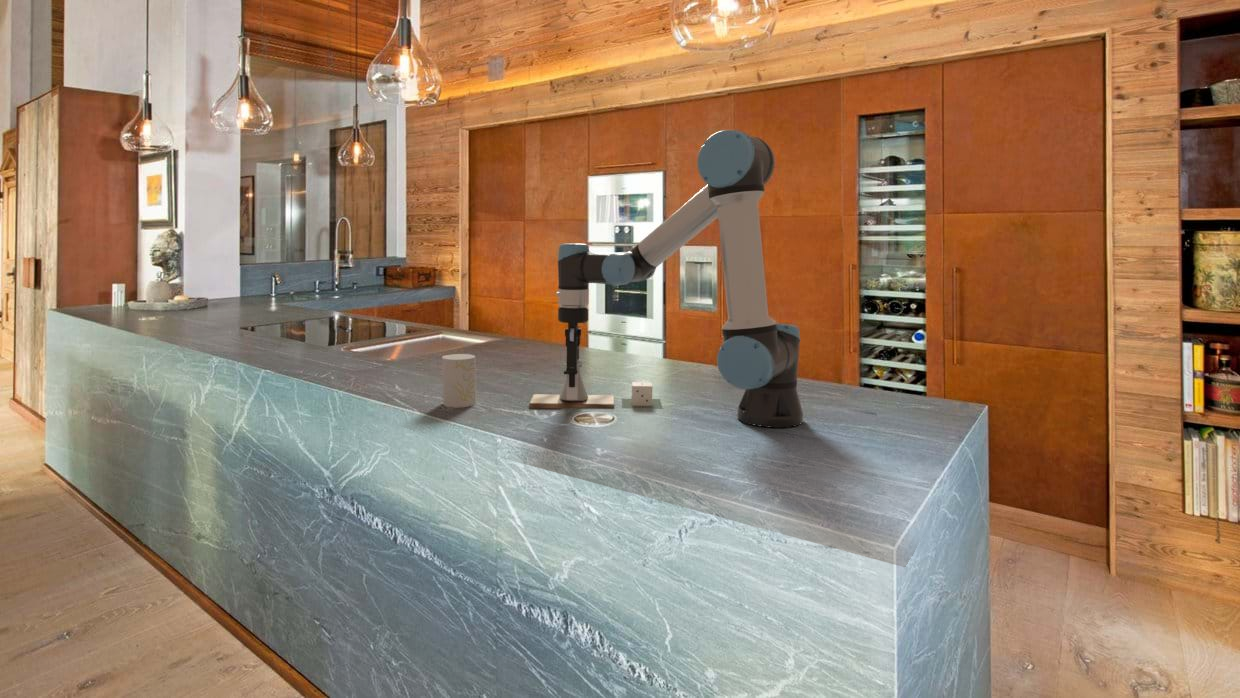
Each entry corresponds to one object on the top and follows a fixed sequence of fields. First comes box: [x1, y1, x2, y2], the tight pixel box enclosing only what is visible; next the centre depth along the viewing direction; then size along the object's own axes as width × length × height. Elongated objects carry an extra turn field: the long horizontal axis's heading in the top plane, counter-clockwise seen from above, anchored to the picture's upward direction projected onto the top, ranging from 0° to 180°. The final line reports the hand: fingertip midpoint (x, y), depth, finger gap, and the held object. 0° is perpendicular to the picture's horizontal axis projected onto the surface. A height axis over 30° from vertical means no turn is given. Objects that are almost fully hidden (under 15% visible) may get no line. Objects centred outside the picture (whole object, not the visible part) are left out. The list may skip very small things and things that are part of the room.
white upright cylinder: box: [441, 353, 477, 409], centre depth 175 cm, size 8×8×12 cm
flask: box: [560, 359, 588, 401], centre depth 176 cm, size 7×7×10 cm
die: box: [630, 381, 653, 406], centre depth 177 cm, size 5×5×5 cm
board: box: [528, 393, 615, 409], centre depth 177 cm, size 21×10×1 cm, turn 91°
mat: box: [621, 398, 663, 409], centre depth 177 cm, size 10×10×1 cm
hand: (573, 395), depth 177 cm, fingers open, 8 cm apart
